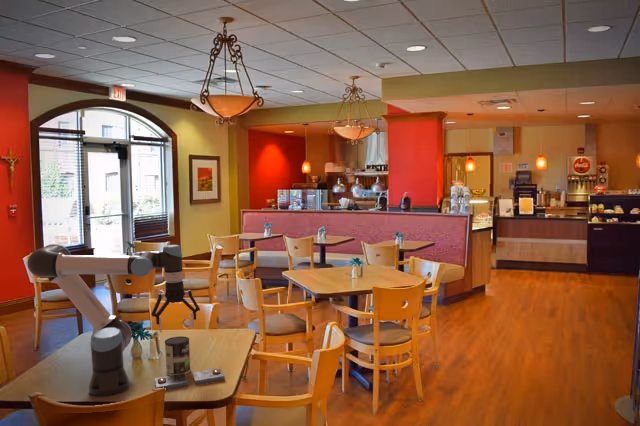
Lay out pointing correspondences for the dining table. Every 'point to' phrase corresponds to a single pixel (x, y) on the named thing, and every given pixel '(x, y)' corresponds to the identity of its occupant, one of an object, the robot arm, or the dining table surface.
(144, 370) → the dining table surface
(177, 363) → the coffee can
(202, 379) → the right end plate
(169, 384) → the left end plate
